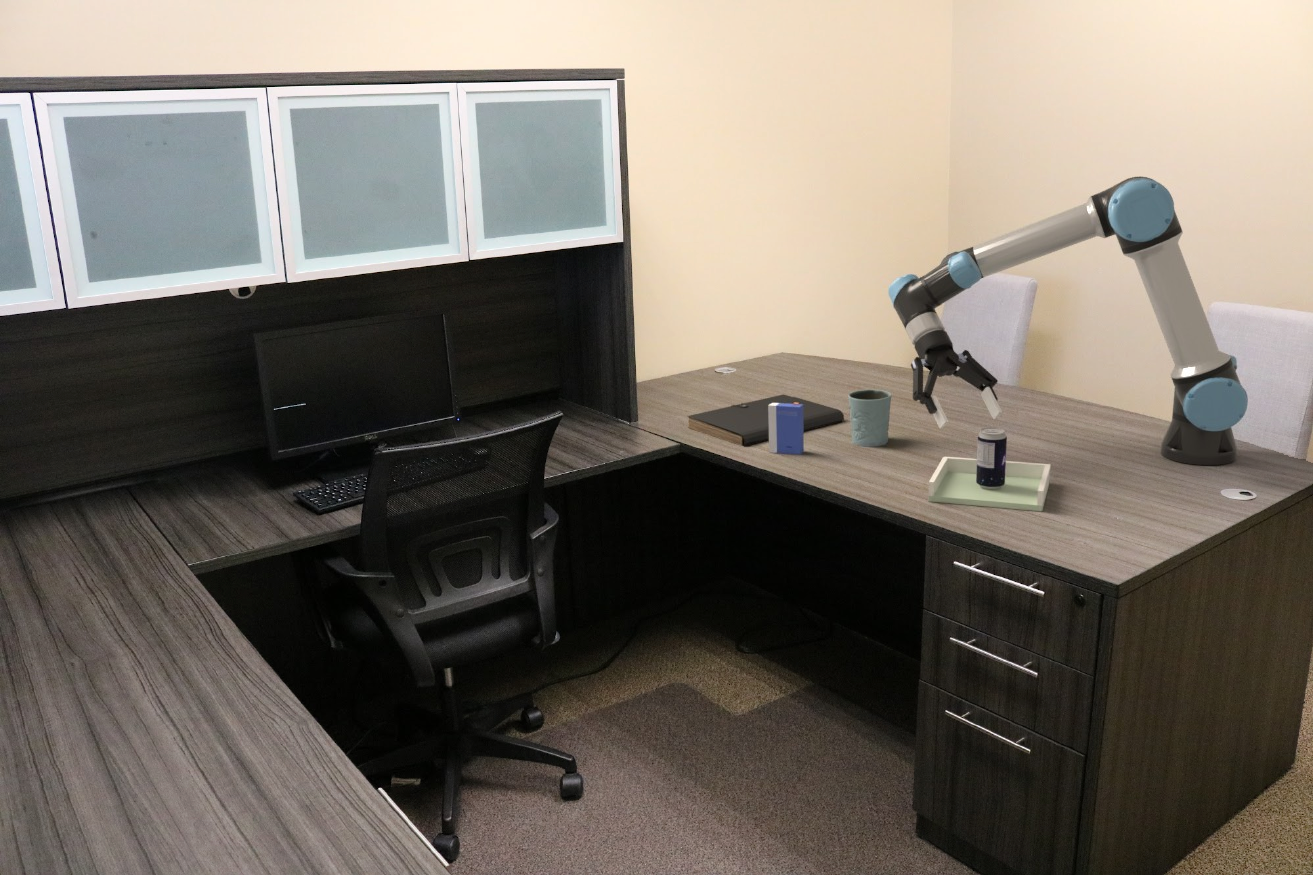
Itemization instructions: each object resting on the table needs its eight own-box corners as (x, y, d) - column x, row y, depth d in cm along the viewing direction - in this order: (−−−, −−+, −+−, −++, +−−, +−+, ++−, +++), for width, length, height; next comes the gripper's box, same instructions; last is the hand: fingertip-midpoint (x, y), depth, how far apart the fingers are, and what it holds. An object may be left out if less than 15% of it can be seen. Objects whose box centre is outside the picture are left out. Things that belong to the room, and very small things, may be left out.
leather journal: (783, 392, 302) (844, 410, 282) (783, 407, 303) (843, 425, 284) (686, 414, 284) (744, 434, 265) (687, 429, 285) (744, 450, 266)
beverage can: (1006, 491, 222) (1008, 434, 219) (977, 490, 223) (979, 434, 220) (1003, 482, 227) (1005, 427, 224) (975, 481, 229) (976, 426, 225)
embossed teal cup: (892, 437, 268) (892, 389, 265) (889, 448, 259) (889, 399, 255) (850, 435, 271) (850, 388, 267) (846, 447, 261) (846, 398, 258)
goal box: (1049, 483, 229) (1050, 464, 228) (1042, 511, 213) (1043, 491, 212) (943, 474, 238) (943, 456, 237) (928, 501, 222) (928, 481, 221)
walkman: (803, 451, 260) (803, 402, 256) (800, 454, 257) (799, 405, 254) (772, 449, 263) (771, 401, 260) (768, 452, 260) (767, 403, 257)
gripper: (969, 341, 244) (1011, 421, 235) (873, 355, 235) (913, 438, 226) (985, 321, 238) (1028, 402, 228) (887, 335, 229) (929, 419, 220)
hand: (971, 420), depth 227 cm, fingers open, 13 cm apart
